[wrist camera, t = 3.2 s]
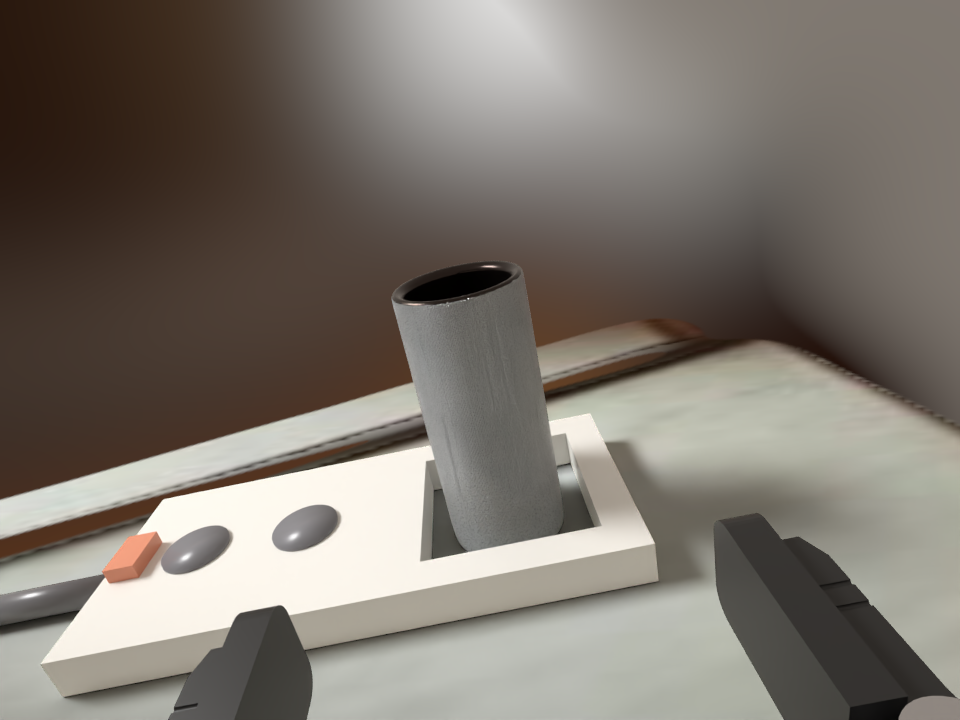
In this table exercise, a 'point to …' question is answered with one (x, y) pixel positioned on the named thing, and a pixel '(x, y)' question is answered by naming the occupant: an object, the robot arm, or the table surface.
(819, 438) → the table surface
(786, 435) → the table surface
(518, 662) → the table surface
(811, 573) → the robot arm
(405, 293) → the planter
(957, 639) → the table surface
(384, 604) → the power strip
